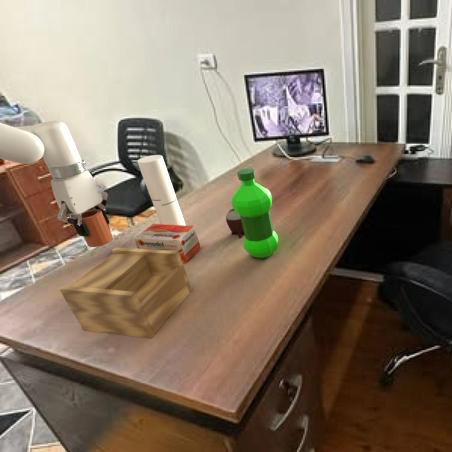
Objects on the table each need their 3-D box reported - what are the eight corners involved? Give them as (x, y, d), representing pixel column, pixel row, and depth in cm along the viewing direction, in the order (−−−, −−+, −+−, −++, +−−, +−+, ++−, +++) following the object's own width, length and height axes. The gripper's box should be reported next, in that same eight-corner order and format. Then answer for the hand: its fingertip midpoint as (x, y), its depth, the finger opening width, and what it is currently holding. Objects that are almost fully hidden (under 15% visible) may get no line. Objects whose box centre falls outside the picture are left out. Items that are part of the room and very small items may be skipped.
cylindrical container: (169, 225, 122) (144, 155, 110) (189, 223, 122) (166, 154, 109) (160, 235, 116) (132, 163, 104) (180, 234, 115) (155, 161, 103)
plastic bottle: (242, 249, 104) (222, 169, 91) (277, 240, 107) (262, 161, 94) (248, 267, 95) (226, 182, 83) (285, 256, 98) (270, 173, 86)
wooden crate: (83, 330, 79) (58, 288, 73) (132, 285, 93) (115, 247, 87) (151, 338, 75) (130, 295, 69) (192, 290, 89) (178, 250, 83)
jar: (82, 246, 100) (69, 219, 96) (100, 235, 106) (88, 208, 102) (101, 247, 99) (88, 219, 95) (117, 236, 104) (106, 209, 100)
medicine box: (142, 260, 103) (132, 237, 99) (160, 245, 110) (151, 223, 106) (187, 263, 99) (178, 240, 96) (202, 248, 106) (195, 225, 102)
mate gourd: (228, 239, 109) (216, 196, 102) (232, 227, 116) (221, 186, 109) (252, 237, 110) (242, 193, 102) (255, 225, 117) (245, 183, 109)
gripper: (83, 159, 100) (107, 215, 109) (25, 182, 85) (58, 244, 94) (105, 159, 98) (127, 216, 107) (49, 182, 84) (80, 246, 92)
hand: (94, 229), depth 100 cm, fingers closed on jar, 6 cm apart
